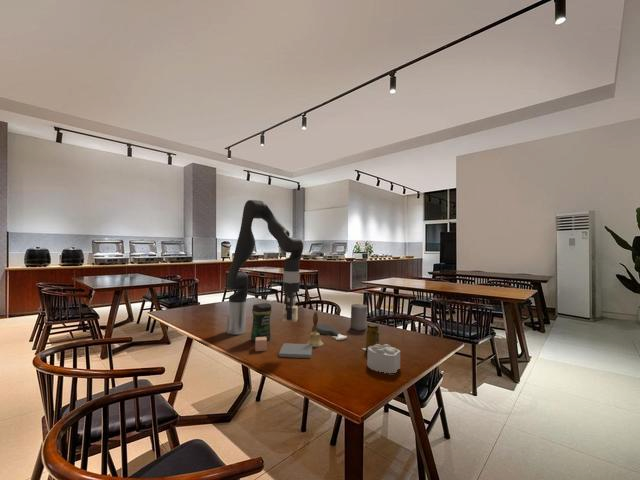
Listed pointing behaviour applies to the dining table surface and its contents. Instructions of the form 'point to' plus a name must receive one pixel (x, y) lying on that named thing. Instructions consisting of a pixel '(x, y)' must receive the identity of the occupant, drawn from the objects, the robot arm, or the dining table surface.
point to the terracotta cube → (260, 344)
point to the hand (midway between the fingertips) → (290, 318)
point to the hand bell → (315, 333)
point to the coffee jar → (261, 321)
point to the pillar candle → (358, 316)
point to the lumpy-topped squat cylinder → (383, 358)
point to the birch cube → (294, 314)
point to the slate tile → (296, 350)
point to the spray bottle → (329, 331)
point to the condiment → (371, 336)
